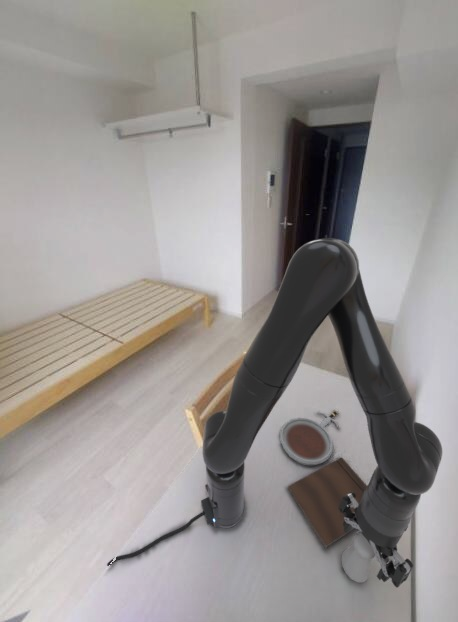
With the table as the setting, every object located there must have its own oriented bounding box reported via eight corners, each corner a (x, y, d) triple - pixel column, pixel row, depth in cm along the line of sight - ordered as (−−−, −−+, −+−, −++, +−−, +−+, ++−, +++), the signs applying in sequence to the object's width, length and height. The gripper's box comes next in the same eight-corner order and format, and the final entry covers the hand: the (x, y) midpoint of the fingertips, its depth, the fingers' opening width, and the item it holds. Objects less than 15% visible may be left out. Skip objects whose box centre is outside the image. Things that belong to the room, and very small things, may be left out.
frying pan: (360, 422, 94) (313, 474, 78) (358, 428, 95) (311, 480, 79) (318, 394, 105) (269, 434, 89) (316, 400, 106) (268, 440, 91)
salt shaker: (360, 552, 64) (373, 525, 58) (372, 585, 59) (387, 559, 53) (335, 553, 64) (346, 526, 58) (345, 587, 59) (358, 561, 53)
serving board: (325, 548, 65) (326, 545, 64) (288, 488, 77) (288, 485, 76) (383, 509, 72) (384, 505, 71) (341, 460, 84) (342, 456, 83)
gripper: (338, 483, 53) (326, 524, 61) (406, 569, 42) (380, 606, 50) (365, 467, 56) (350, 508, 64) (436, 543, 45) (407, 582, 53)
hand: (363, 551), depth 57 cm, fingers open, 8 cm apart
